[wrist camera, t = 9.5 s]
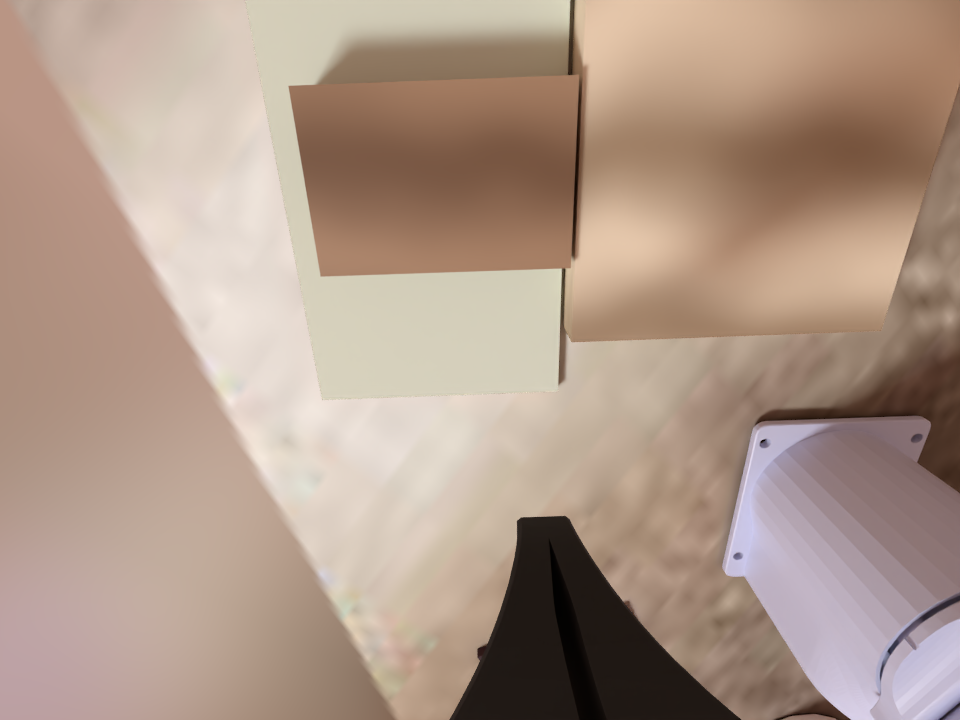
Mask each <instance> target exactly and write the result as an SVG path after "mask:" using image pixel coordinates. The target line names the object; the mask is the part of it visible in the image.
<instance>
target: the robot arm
mask: <svg viewBox="0 0 960 720" xmlns="http://www.w3.org/2000/svg"><path fill="white" fill-rule="evenodd" d="M930 428H931V423H930V421H928V420H927V419H925V418H923V417H922V416H898V417H869V418H840V419H811V420H782V421H763V422H760V423H758V424H757V425H756V426H755V427H754V428H753V431H752V435H751V440H750V444H749V449H748V453H747V458H746V462H745V467H744V471H743V476H742V480H741V484H740V489H739V493H738V498H737V502H736V507H735V511H734V516H733V520H732V525H731V529H730V534H729V538H728V543H727V547H726V552H725V556H724V561H723V565H722V566H723V570H724V571H725V573H726V574H727V575H728V576H745V578H746V580H747V581H748V583H749V584H750V586H751V588H752V589H753V591H754V592H755V594H756V596H757V597H758V599H759V600H760V602H761V603H762V605H763V607H764V608H765V610H766V611H767V613H768V615H769V616H770V618H771V619H772V621H773V623H774V624H775V626H776V627H777V629H778V631H779V632H780V634H781V635H782V637H783V639H784V640H785V642H786V643H787V645H788V647H789V648H790V650H791V651H792V653H793V655H794V656H795V658H796V659H797V661H798V663H799V664H800V666H801V667H802V669H803V671H804V672H805V674H806V675H807V677H808V678H809V679H810V681H811V682H812V683H813V685H814V686H815V687H816V688H817V690H818V691H819V692H820V693H821V694H822V695H823V696H824V697H825V698H826V699H827V700H828V701H829V702H830V703H831V704H832V705H833V706H834V707H836V708H837V709H838V710H839V711H841V712H842V713H843V714H844V715H846V716H847V717H848V718H850V719H851V720H960V493H959V492H957V491H956V490H955V489H953V488H952V487H950V486H949V485H948V484H946V483H945V482H943V481H942V480H940V479H939V478H938V477H936V476H935V475H933V474H932V473H931V472H929V471H928V470H926V469H925V468H924V467H922V466H921V465H919V464H918V463H917V461H918V459H919V456H920V454H921V451H922V449H923V446H924V444H925V441H926V439H927V436H928V434H929V431H930ZM912 436H913V437H912ZM763 439H766V440H765V441H764V442H763V443H760V442H761V441H762V440H763ZM759 443H760V444H759ZM450 720H741V719H740V718H739V717H737V716H736V715H735V714H734V713H733V712H731V711H730V710H729V709H728V708H727V707H726V706H724V705H723V704H722V703H721V702H720V701H719V700H718V699H716V698H715V697H714V696H713V695H712V694H711V693H709V692H708V691H707V690H706V689H705V688H704V687H703V686H702V685H701V684H700V683H699V682H698V681H697V680H696V679H694V678H693V677H692V676H691V675H690V674H689V673H688V672H687V671H686V670H685V669H684V668H683V667H682V666H681V665H680V664H679V663H678V662H676V661H675V660H674V659H673V658H672V657H671V656H670V655H669V653H668V652H667V651H666V650H665V649H664V648H663V647H662V646H661V645H660V644H659V643H658V642H657V641H656V640H655V639H654V638H653V636H652V635H651V634H650V633H649V632H648V631H647V630H646V629H645V628H644V626H643V625H642V624H641V623H640V622H639V621H638V620H637V618H636V617H635V616H634V615H633V614H632V612H631V611H630V610H629V609H628V607H627V606H626V605H625V604H624V602H623V601H622V600H621V598H620V597H619V596H618V595H617V593H616V592H615V591H614V589H613V588H612V587H611V585H610V584H609V583H608V581H607V580H606V578H605V577H604V575H603V574H602V572H601V571H600V570H599V568H598V567H597V565H596V564H595V562H594V561H593V559H592V558H591V556H590V555H589V553H588V551H587V550H586V548H585V547H584V545H583V543H582V542H581V540H580V538H579V537H578V535H577V533H576V531H575V529H574V527H573V526H572V524H571V522H570V519H568V518H567V517H566V516H554V517H523V518H520V519H519V520H518V521H517V546H516V552H515V558H514V562H513V567H512V571H511V576H510V580H509V584H508V587H507V590H506V594H505V597H504V600H503V603H502V607H501V610H500V613H499V616H498V618H497V621H496V624H495V627H494V629H493V632H492V634H491V637H490V639H489V642H488V644H487V646H486V649H485V651H484V653H483V656H482V658H481V660H480V662H479V665H478V667H477V669H476V671H475V673H474V675H473V677H472V679H471V681H470V683H469V685H468V687H467V689H466V691H465V692H464V694H463V696H462V698H461V700H460V702H459V704H458V706H457V707H456V709H455V711H454V713H453V715H452V716H451V718H450Z"/></svg>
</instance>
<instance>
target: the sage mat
mask: <svg viewBox="0 0 960 720" xmlns="http://www.w3.org/2000/svg"><path fill="white" fill-rule="evenodd" d="M245 3H246V9H247V14H248V19H249V24H250V29H251V34H252V40H253V45H254V50H255V55H256V60H257V65H258V71H259V76H260V81H261V86H262V91H263V97H264V102H265V107H266V112H267V117H268V122H269V128H270V133H271V138H272V143H273V148H274V153H275V159H276V164H277V169H278V174H279V179H280V184H281V190H282V195H283V200H284V205H285V210H286V216H287V221H288V226H289V231H290V236H291V241H292V247H293V252H294V257H295V262H296V267H297V272H298V278H299V283H300V288H301V293H302V298H303V303H304V309H305V314H306V319H307V324H308V329H309V335H310V340H311V345H312V350H313V355H314V360H315V366H316V371H317V376H318V381H319V386H320V391H321V397H322V400H335V399H363V398H391V397H420V396H448V395H477V394H505V393H533V392H558V376H559V344H560V311H561V279H562V269H533V270H504V271H474V272H444V273H414V274H385V275H355V276H325V277H321V276H320V270H319V264H318V258H317V252H316V246H315V240H314V234H313V229H312V223H311V217H310V211H309V205H308V199H307V193H306V187H305V181H304V175H303V169H302V164H301V158H300V152H299V146H298V140H297V134H296V128H295V122H294V116H293V110H292V105H291V99H290V93H289V87H288V86H296V85H322V84H349V83H375V82H402V81H428V80H455V79H481V78H508V77H534V76H561V75H568V54H569V22H570V0H245Z"/></svg>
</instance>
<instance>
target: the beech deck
mask: <svg viewBox="0 0 960 720" xmlns="http://www.w3.org/2000/svg"><path fill="white" fill-rule="evenodd" d="M572 75H579V91H578V114H577V137H576V160H575V183H574V206H573V229H572V252H571V268H565V286H564V315H563V326H564V328H565V330H566V332H567V334H568V336H569V338H570V340H571V342H590V341H617V340H645V339H672V338H699V337H727V336H754V335H782V334H809V333H837V332H864V331H881V330H882V326H883V323H884V320H885V317H886V314H887V311H888V308H889V304H890V301H891V298H892V295H893V292H894V289H895V286H896V282H897V279H898V276H899V273H900V270H901V267H902V264H903V260H904V257H905V254H906V251H907V248H908V245H909V242H910V238H911V235H912V232H913V229H914V226H915V223H916V220H917V216H918V213H919V210H920V207H921V204H922V201H923V198H924V194H925V191H926V188H927V185H928V182H929V179H930V176H931V172H932V169H933V166H934V163H935V160H936V157H937V154H938V150H939V147H940V144H941V141H942V138H943V135H944V132H945V128H946V125H947V122H948V119H949V116H950V113H951V110H952V106H953V103H954V100H955V97H956V94H957V91H958V88H959V84H960V0H574V20H573V50H572Z"/></svg>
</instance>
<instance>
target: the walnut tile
mask: <svg viewBox="0 0 960 720" xmlns="http://www.w3.org/2000/svg"><path fill="white" fill-rule="evenodd" d="M288 87H289V93H290V99H291V105H292V110H293V116H294V122H295V128H296V134H297V140H298V146H299V152H300V158H301V164H302V169H303V175H304V181H305V187H306V193H307V199H308V205H309V211H310V217H311V223H312V229H313V234H314V240H315V246H316V252H317V258H318V264H319V270H320V276H321V277H325V276H355V275H385V274H414V273H444V272H474V271H504V270H533V269H563V268H571V252H572V229H573V206H574V183H575V160H576V137H577V114H578V91H579V75H561V76H534V77H508V78H481V79H455V80H428V81H402V82H375V83H349V84H322V85H296V86H288Z"/></svg>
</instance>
